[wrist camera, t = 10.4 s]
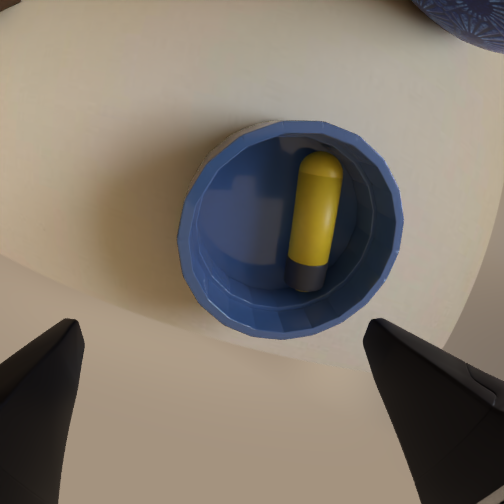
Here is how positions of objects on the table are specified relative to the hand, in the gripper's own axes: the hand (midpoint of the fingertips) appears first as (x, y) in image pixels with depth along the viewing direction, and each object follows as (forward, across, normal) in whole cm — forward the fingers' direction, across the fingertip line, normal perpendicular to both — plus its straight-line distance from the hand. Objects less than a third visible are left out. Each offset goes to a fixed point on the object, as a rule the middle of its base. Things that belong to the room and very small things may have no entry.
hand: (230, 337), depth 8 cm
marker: (+10, -5, 0) cm, 11 cm away
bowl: (+11, -4, 0) cm, 12 cm away
